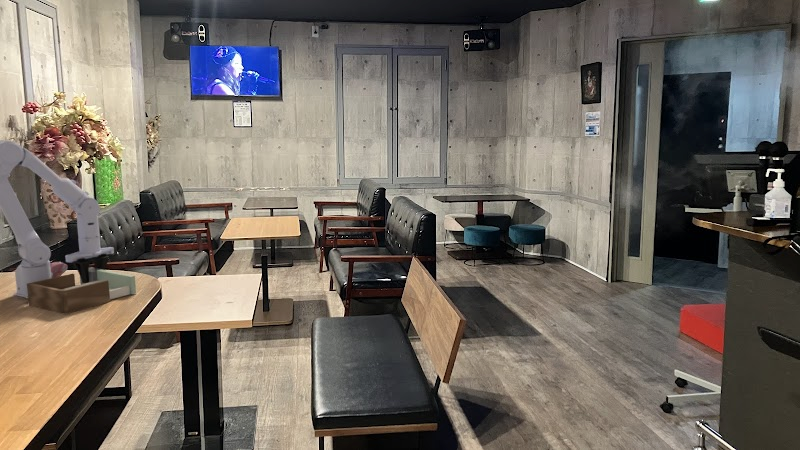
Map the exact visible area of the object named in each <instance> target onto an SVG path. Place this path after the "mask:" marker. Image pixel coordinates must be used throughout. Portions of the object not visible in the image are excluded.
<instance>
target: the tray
mask: <svg viewBox="0 0 800 450" xmlns="http://www.w3.org/2000/svg"><path fill="white" fill-rule="evenodd" d="M97 279H98V280H97V281H93V282H89V283H85V284H81V283H80V284H77V285H75V286H72V287H68V288H64V289H61V290H68V289H72V288H76V287H80V286H84V285H89V284H93V283H97V282H101V281H105V280H108V281H109V294H110V300H114V299H118V298H122V297H124V296H125V297H126V296H128V295H135V294H137V290H136V289H137V287H136V276H135V275H132V274H127V273H123V272H117V271H116V272H115V271H111V270H106V269H105V270H97Z"/></svg>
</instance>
